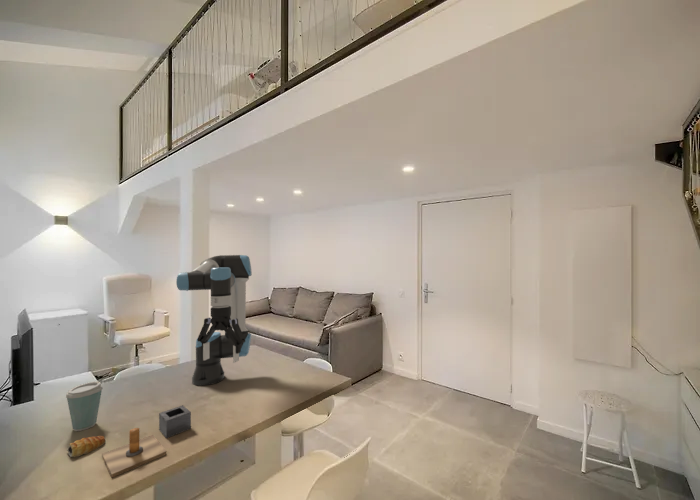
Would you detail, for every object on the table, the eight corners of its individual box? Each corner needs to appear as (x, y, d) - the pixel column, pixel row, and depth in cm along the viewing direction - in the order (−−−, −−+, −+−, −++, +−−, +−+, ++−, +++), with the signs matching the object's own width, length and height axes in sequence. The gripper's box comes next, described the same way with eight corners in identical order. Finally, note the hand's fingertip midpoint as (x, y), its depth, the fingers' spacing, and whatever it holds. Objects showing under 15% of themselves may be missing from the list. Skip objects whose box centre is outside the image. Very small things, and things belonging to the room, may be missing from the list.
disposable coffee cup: (71, 437, 108) (71, 394, 108) (60, 429, 114) (60, 388, 114) (107, 423, 117) (107, 383, 117) (95, 416, 123) (96, 378, 123)
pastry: (100, 439, 107) (101, 428, 107) (108, 445, 104) (108, 434, 104) (65, 453, 100) (65, 441, 100) (72, 461, 96) (72, 448, 96)
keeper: (102, 457, 97) (102, 431, 97) (153, 437, 107) (153, 414, 108) (111, 477, 88) (111, 449, 88) (166, 454, 98) (166, 428, 98)
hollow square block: (159, 429, 112) (159, 413, 113) (182, 421, 118) (182, 405, 118) (166, 438, 107) (166, 420, 107) (190, 428, 113) (190, 412, 113)
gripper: (187, 307, 122) (187, 361, 121) (243, 308, 115) (243, 365, 115) (201, 304, 129) (201, 355, 128) (254, 305, 123) (254, 359, 122)
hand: (221, 360), depth 121 cm, fingers open, 13 cm apart
